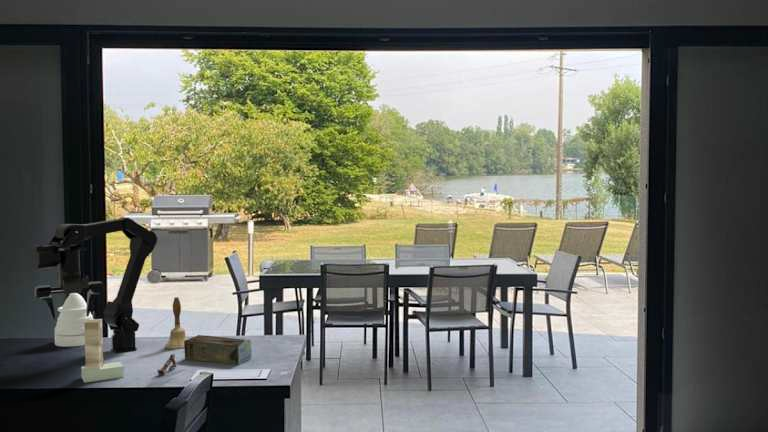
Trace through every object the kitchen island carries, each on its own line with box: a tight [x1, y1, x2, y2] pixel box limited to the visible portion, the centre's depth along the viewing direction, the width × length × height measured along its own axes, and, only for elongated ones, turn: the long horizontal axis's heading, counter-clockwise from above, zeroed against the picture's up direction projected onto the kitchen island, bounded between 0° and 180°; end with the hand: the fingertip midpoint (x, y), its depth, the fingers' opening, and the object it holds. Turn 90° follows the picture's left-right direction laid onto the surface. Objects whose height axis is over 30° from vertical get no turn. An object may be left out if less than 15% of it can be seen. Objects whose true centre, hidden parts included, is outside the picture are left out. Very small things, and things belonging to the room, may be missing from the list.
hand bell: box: [164, 296, 188, 350], centre depth 227 cm, size 8×8×16 cm
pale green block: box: [80, 361, 125, 383], centre depth 192 cm, size 10×6×3 cm, turn 120°
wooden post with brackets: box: [156, 353, 178, 376], centre depth 197 cm, size 2×8×4 cm, turn 166°
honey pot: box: [54, 293, 94, 348], centre depth 234 cm, size 13×13×18 cm
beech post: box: [84, 318, 104, 370], centre depth 190 cm, size 4×4×13 cm
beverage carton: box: [183, 334, 252, 365], centre depth 210 cm, size 8×19×7 cm, turn 71°
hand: (71, 317), depth 209 cm, fingers open, 9 cm apart
